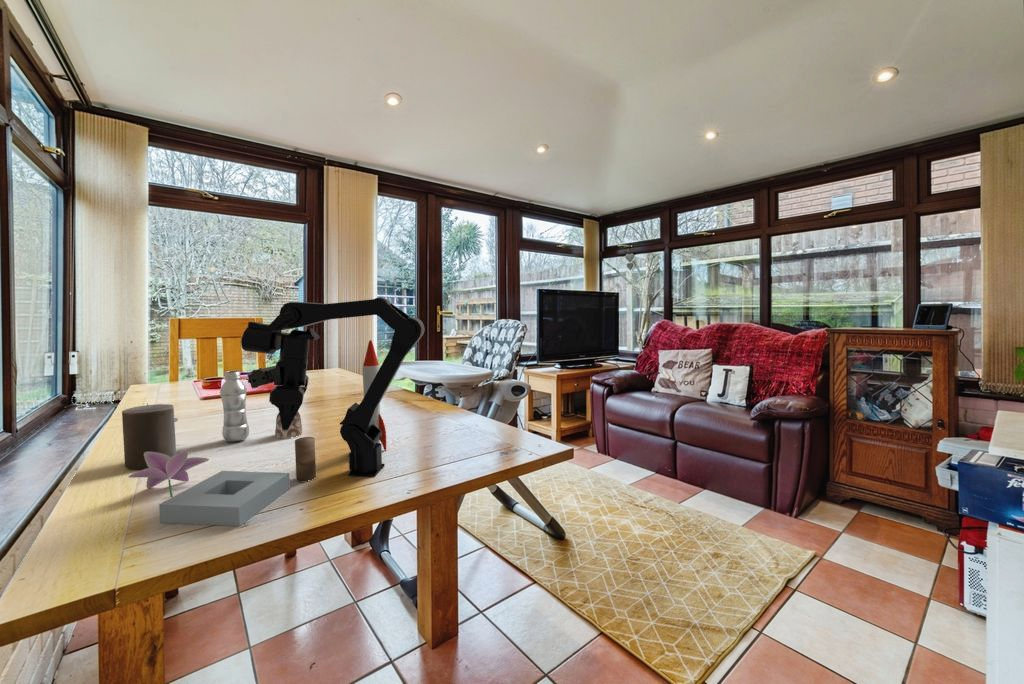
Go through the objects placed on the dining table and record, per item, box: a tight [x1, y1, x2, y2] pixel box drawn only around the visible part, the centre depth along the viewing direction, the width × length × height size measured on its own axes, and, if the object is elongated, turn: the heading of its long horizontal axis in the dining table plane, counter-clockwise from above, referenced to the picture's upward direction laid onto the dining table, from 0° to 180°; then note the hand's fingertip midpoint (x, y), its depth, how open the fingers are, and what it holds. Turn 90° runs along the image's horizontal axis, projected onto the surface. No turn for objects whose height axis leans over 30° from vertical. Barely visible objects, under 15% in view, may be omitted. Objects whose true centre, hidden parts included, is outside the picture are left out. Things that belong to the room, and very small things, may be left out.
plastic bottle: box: [219, 370, 250, 443], centre depth 119 cm, size 6×7×20 cm
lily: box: [127, 448, 210, 498], centre depth 87 cm, size 12×12×10 cm
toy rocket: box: [362, 339, 387, 451], centre depth 112 cm, size 6×6×30 cm
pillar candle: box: [121, 402, 177, 470], centre depth 103 cm, size 10×10×15 cm
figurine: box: [274, 411, 303, 439], centre depth 124 cm, size 7×7×12 cm
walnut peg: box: [294, 436, 317, 482], centre depth 94 cm, size 4×4×9 cm
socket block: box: [158, 470, 291, 527], centre depth 82 cm, size 15×15×4 cm
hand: (287, 423), depth 96 cm, fingers open, 9 cm apart
